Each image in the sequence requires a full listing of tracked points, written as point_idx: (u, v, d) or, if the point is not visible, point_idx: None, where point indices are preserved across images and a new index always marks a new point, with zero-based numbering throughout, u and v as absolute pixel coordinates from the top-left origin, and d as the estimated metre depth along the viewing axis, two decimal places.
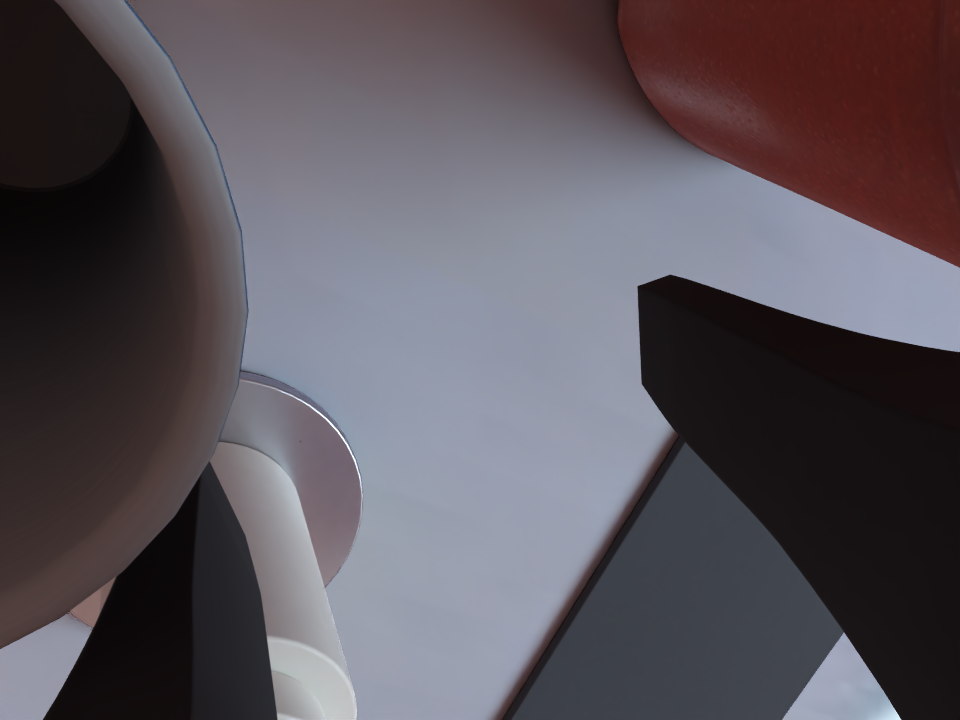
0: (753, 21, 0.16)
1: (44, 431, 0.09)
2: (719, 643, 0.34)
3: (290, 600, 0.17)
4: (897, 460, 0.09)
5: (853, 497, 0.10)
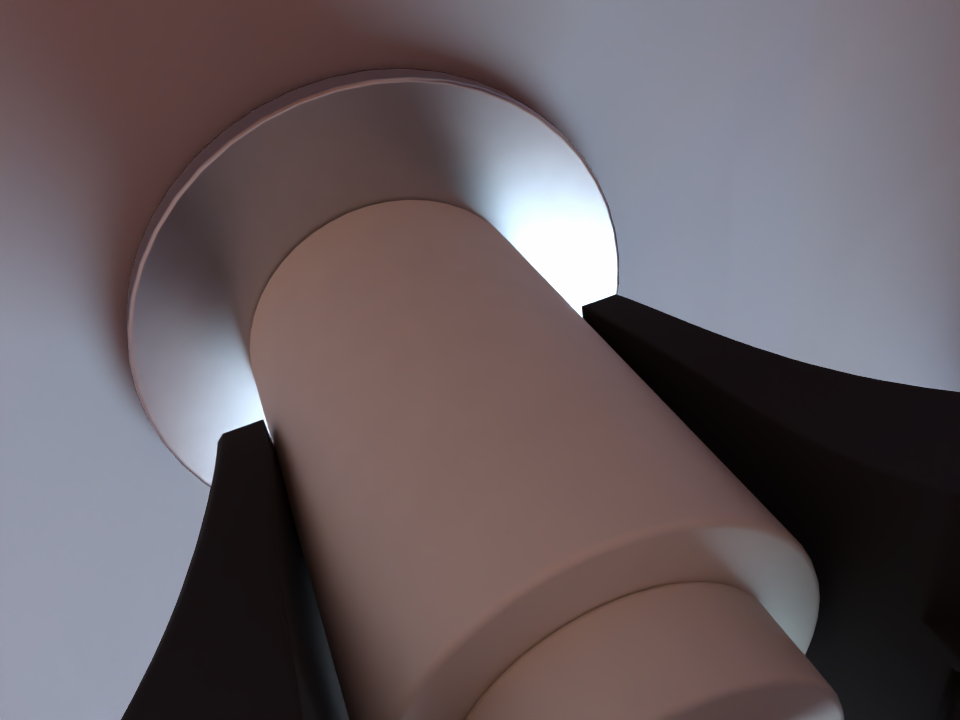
0: None
1: None
2: None
3: None
4: (820, 494, 0.09)
5: None
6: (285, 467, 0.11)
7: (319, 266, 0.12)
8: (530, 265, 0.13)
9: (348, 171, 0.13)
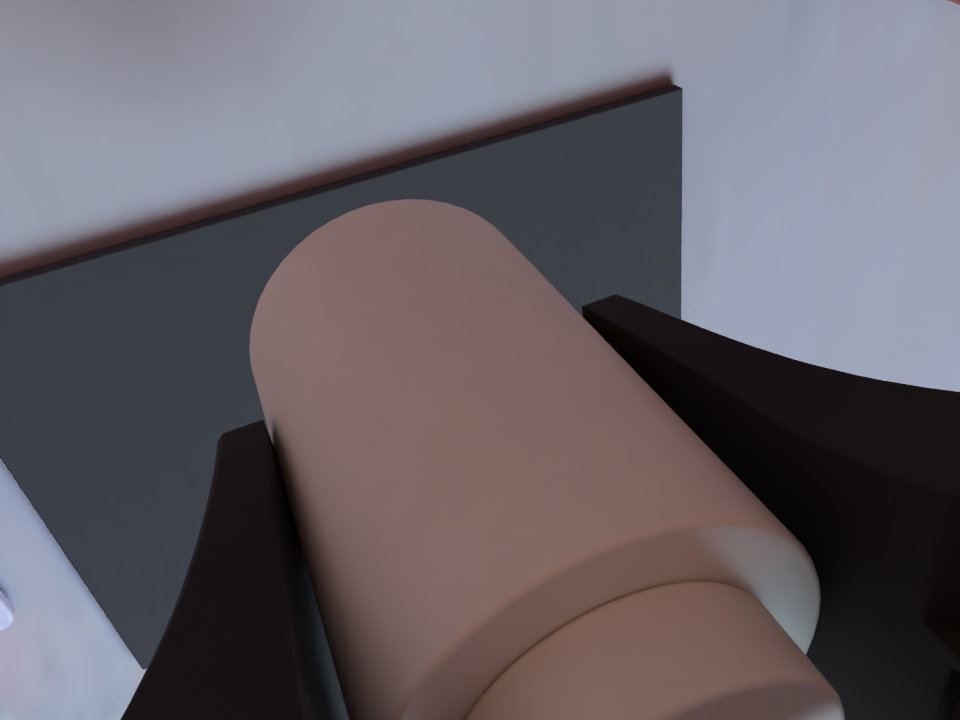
0: None
1: None
2: None
3: None
4: (820, 494, 0.09)
5: None
6: (285, 467, 0.11)
7: (318, 265, 0.12)
8: (530, 264, 0.13)
9: None
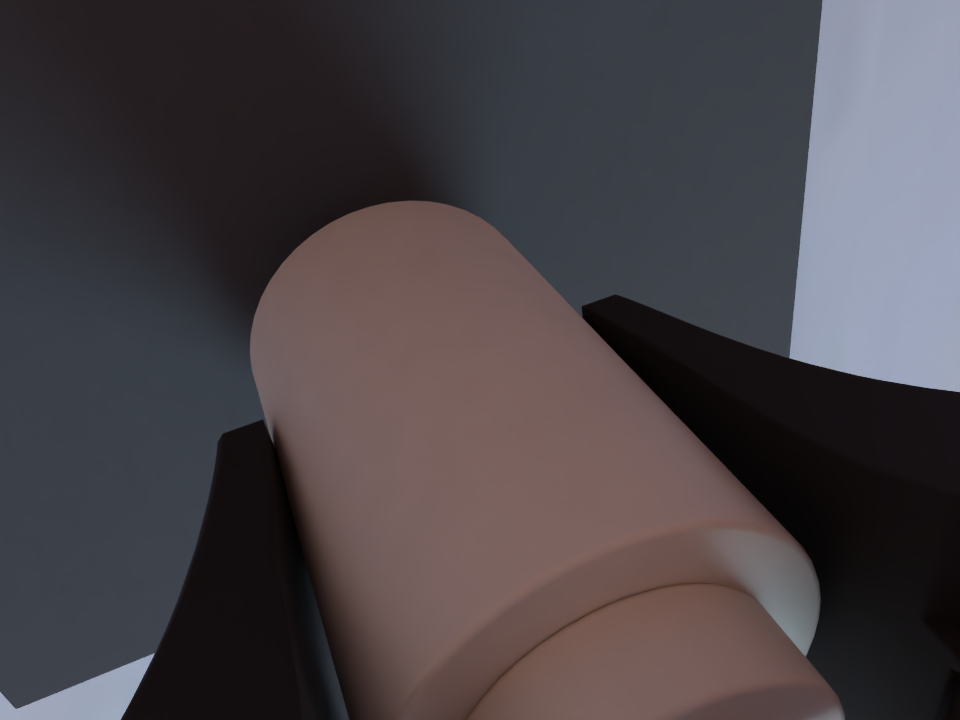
0: None
1: None
2: None
3: None
4: (820, 494, 0.09)
5: None
6: (285, 468, 0.11)
7: (319, 267, 0.12)
8: (530, 266, 0.13)
9: None
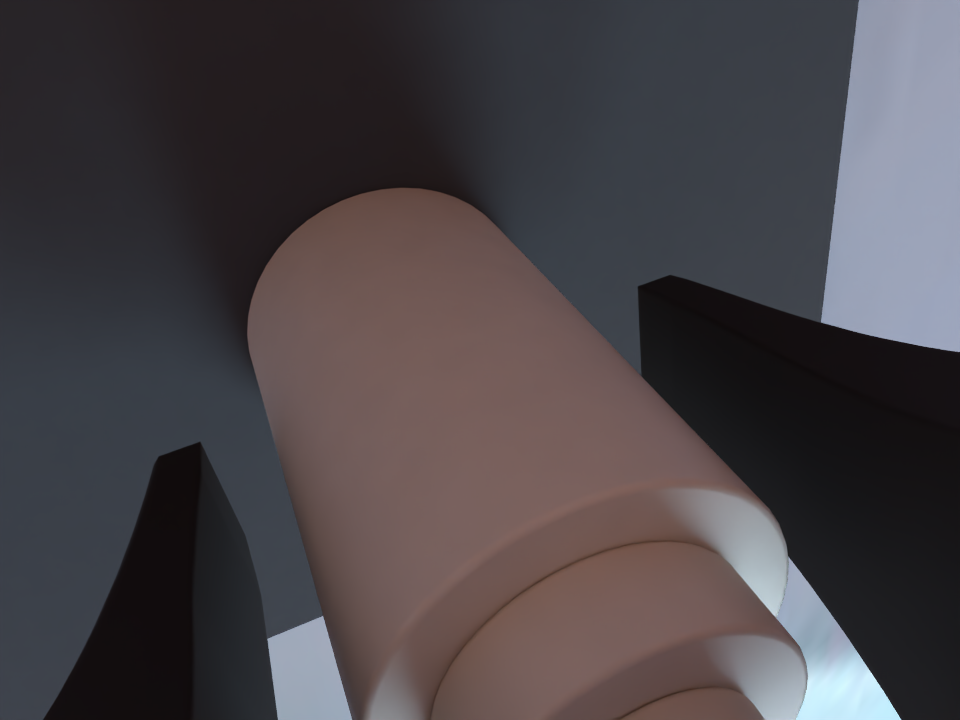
0: None
1: None
2: None
3: None
4: (897, 460, 0.09)
5: (854, 497, 0.10)
6: (280, 442, 0.12)
7: (314, 250, 0.13)
8: (518, 250, 0.13)
9: None
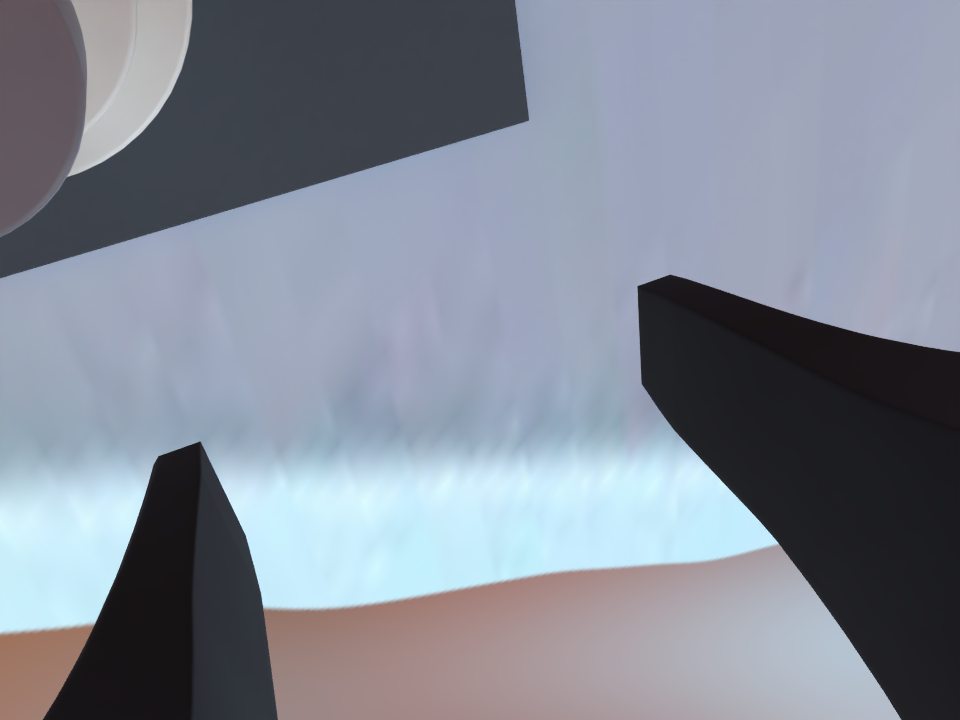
0: None
1: None
2: None
3: None
4: (897, 460, 0.09)
5: (854, 497, 0.10)
6: None
7: None
8: None
9: None
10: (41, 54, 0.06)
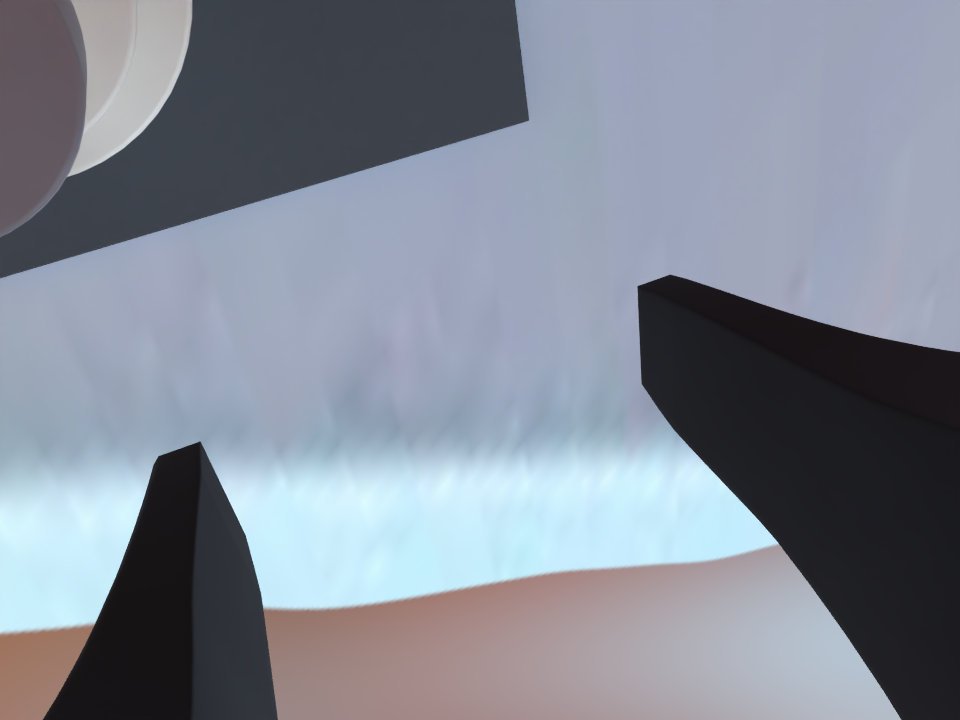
0: None
1: None
2: None
3: None
4: (897, 460, 0.09)
5: (854, 497, 0.10)
6: None
7: None
8: None
9: None
10: (41, 54, 0.06)
